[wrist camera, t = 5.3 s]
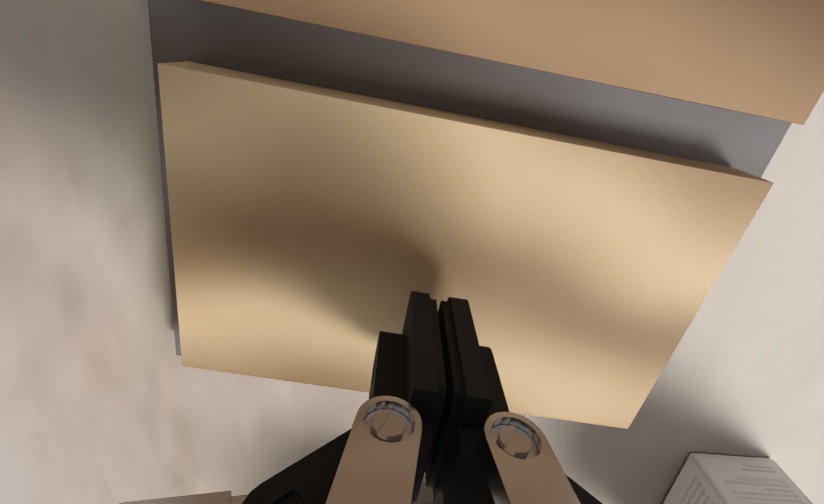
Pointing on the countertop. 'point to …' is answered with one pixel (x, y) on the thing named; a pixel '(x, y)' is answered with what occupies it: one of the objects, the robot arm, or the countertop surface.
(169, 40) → the floor board
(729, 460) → the skincare box
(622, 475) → the countertop surface
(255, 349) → the oak plank
